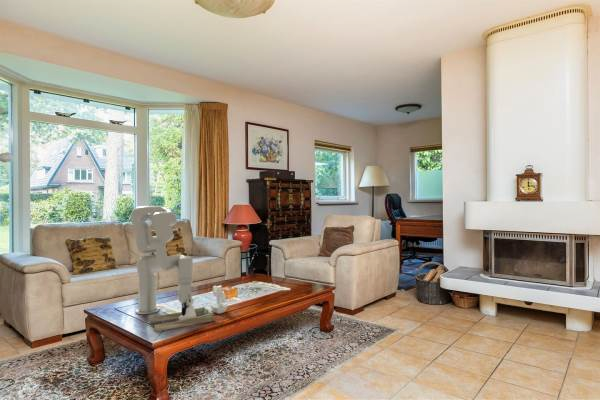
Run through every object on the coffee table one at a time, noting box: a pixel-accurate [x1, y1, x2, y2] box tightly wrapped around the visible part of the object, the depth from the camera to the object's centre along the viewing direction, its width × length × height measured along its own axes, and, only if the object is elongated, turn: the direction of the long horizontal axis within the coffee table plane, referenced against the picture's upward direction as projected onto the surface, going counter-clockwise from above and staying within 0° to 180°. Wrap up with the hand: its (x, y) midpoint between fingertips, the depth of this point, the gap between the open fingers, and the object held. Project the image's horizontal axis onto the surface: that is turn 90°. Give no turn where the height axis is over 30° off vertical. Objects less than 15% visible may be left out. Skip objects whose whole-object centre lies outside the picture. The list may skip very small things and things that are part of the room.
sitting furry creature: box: [178, 296, 197, 321], centre depth 195 cm, size 10×9×12 cm
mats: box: [149, 321, 164, 331], centre depth 187 cm, size 11×6×1 cm, turn 33°
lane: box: [148, 306, 214, 333], centre depth 193 cm, size 14×30×4 cm, turn 123°
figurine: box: [209, 284, 229, 315], centre depth 210 cm, size 7×9×15 cm
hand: (185, 314), depth 194 cm, fingers closed
